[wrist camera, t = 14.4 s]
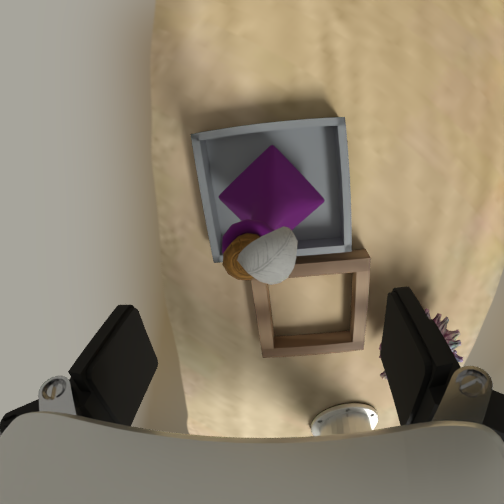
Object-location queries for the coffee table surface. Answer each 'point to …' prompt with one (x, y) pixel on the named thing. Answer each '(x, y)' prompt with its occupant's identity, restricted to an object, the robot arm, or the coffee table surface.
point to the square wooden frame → (320, 342)
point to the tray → (303, 159)
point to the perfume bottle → (266, 218)
